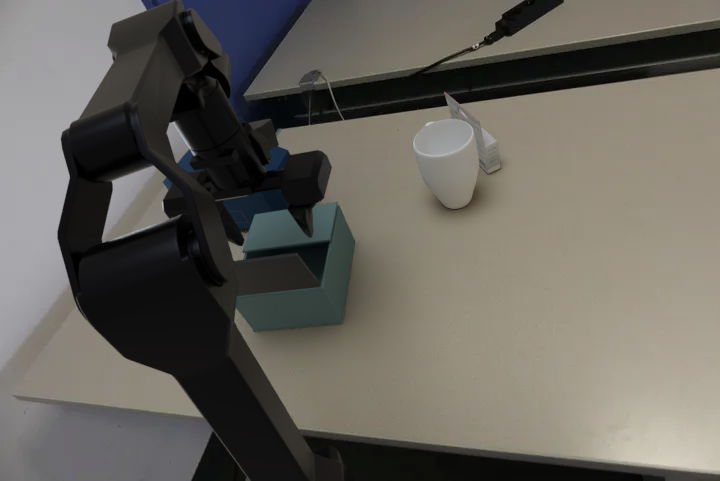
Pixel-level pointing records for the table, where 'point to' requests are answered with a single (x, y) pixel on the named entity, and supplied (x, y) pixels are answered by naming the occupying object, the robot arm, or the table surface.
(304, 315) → the teal storage bin
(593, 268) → the table surface
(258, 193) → the radio
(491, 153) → the ink cartridge box
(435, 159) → the mug
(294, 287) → the hatch
